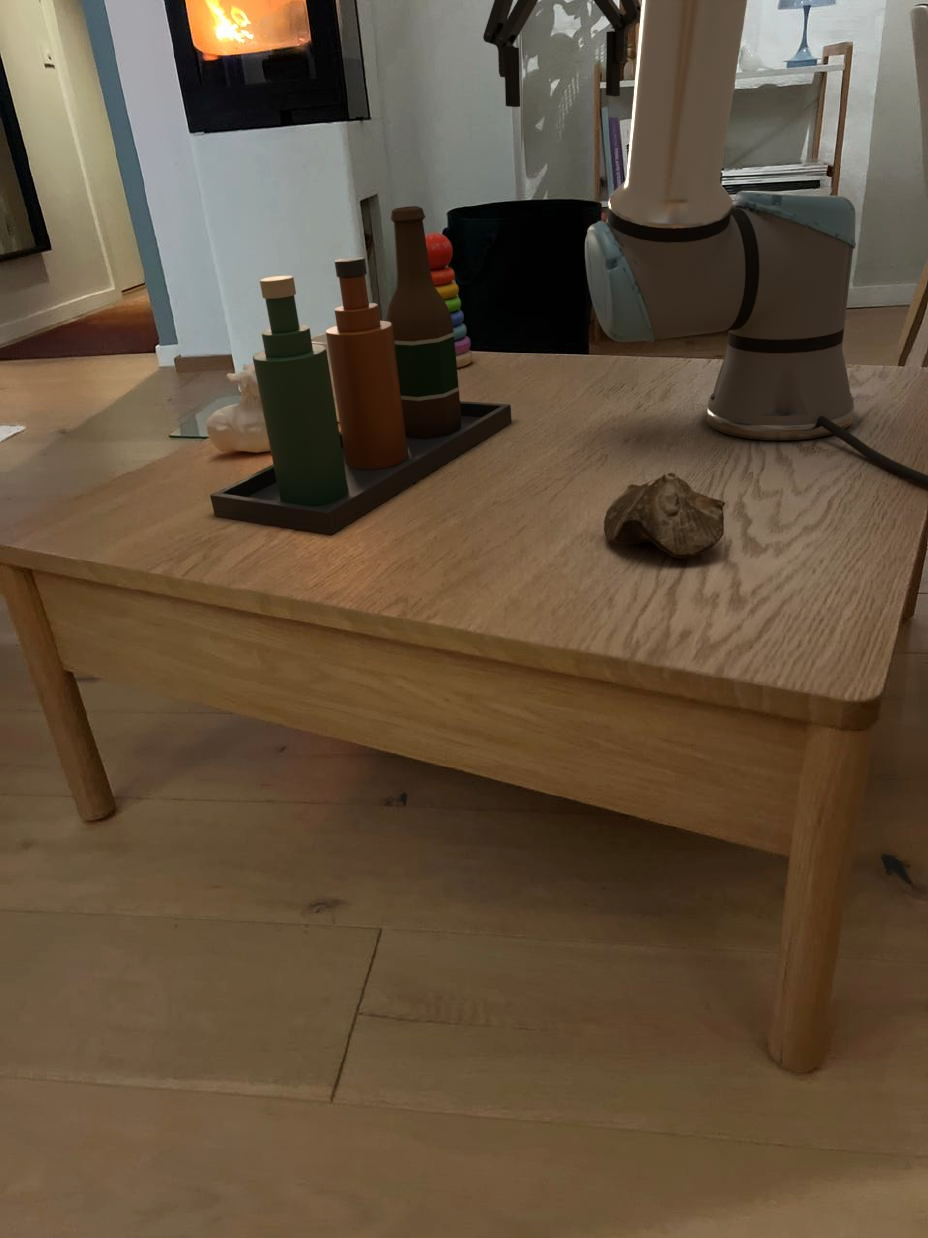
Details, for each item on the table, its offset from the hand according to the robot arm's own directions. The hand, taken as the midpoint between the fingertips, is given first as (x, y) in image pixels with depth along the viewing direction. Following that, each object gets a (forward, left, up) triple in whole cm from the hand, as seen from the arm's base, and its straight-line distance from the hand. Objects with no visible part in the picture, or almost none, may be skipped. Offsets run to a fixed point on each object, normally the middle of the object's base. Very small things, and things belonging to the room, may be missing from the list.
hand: (561, 101), depth 113 cm
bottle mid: (-17, +40, -33) cm, 54 cm away
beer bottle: (-12, +30, -33) cm, 46 cm away
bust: (-2, +47, -34) cm, 58 cm away
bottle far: (-22, +49, -33) cm, 63 cm away
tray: (-17, +40, -33) cm, 55 cm away
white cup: (+3, +33, -34) cm, 47 cm away
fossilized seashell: (-54, +32, -34) cm, 71 cm away
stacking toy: (+17, +10, -34) cm, 39 cm away
